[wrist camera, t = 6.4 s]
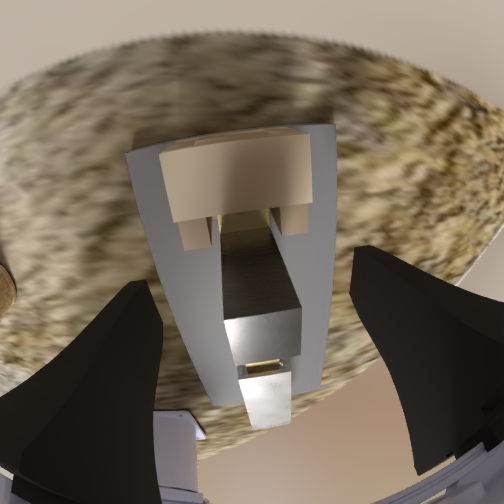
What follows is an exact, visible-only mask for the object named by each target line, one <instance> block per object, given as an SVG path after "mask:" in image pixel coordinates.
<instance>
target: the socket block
mask: <svg viewBox="0 0 504 504" xmlns="http://www.w3.org/2000/svg"><path fill="white" fill-rule="evenodd" d="M159 158H160V163H161V168H162V173H163V178H164V182H165V187H166V191H167V196H168V200H169V205H170V209H171V213H172V218H173V222H174V223H175V222H177V223H178V227H179V231H180V235H181V239H182V243H183V247H184V251H187V250H193V249H200V248H206V247H212V220H214V219H218V218H217V216H218V215H224V214H231V213H238V212H245V211H252V210H259V209H266V208H268V212H269V211H270V212H271V214H272V216H273V218H274V221H275V223H276V225H277V227H278V229H279V231H280V233H281V235H282V236H287V235H294V234H301V233H308V203H313V200H312V169H311V148H310V134H308V133H305V132H302V131H298V130H295V129H292V128H288V127H273V128H262V129H252V130H244V131H236V132H228V133H221V134H214V135H208V136H202V137H196V138H191V139H185V140H180V141H175V142H174V143H173V144H171V145H170V146H169V147H167V148H166V149H165V150H164V151H162V152H161V153H160V154H159Z"/></svg>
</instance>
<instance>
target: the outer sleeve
mask: <svg viewBox="0 0 504 504" xmlns="http://www.w3.org/2000/svg"><path fill="white" fill-rule="evenodd" d="M279 364H280V370H274V371H268V372H262V373H256V374H249V375H248V372H247V367H246V365H239V366H237V371H238V380H239V384H240V387H241V391H242V394H243V398H244V401H245V405H246V408H247V412H248V415H249V418H250V422H251V425H252V428H253V430H255V429H262V428H269V427H275V426H280V425H286V424H290V423H291V369H290V365H289V361H288V358H283V359H279Z"/></svg>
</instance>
